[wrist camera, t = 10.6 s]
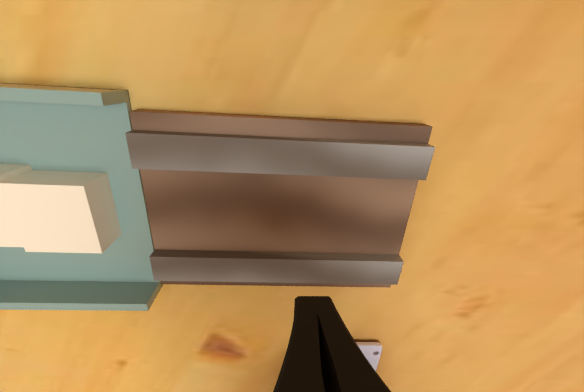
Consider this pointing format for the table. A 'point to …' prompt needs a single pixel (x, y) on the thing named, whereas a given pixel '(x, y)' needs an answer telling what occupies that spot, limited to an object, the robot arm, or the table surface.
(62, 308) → the tray
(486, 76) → the table surface
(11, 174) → the chip
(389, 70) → the table surface
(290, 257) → the slot board
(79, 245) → the chip
